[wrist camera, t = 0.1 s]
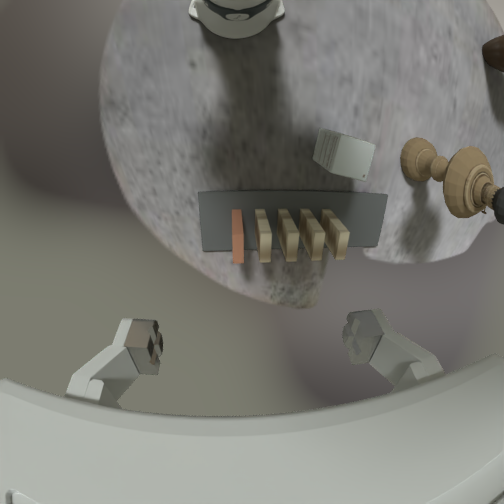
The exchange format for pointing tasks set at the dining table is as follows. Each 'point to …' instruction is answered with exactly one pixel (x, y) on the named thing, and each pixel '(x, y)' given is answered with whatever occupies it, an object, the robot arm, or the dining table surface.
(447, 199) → the oil lamp
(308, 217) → the domino
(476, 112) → the dining table surface
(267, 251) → the domino
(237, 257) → the domino
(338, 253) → the domino
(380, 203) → the mat
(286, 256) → the domino
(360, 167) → the supplement box
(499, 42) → the plant pot
